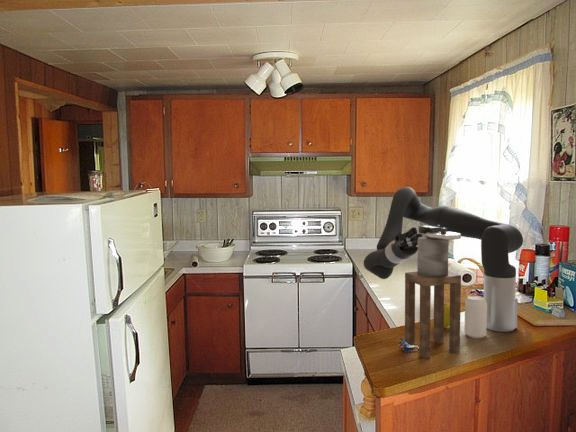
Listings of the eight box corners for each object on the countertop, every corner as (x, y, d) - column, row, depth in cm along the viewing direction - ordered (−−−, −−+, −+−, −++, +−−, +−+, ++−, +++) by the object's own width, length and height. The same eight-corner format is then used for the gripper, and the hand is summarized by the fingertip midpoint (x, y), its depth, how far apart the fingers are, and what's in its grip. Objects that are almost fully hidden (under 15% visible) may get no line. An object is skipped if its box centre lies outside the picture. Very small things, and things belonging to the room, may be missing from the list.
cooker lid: (435, 232, 137) (435, 223, 137) (468, 238, 124) (468, 228, 124) (409, 234, 134) (409, 225, 134) (440, 240, 121) (440, 231, 121)
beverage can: (473, 330, 143) (474, 293, 142) (490, 336, 138) (491, 298, 137) (460, 334, 140) (460, 296, 139) (476, 340, 135) (477, 301, 134)
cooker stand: (439, 341, 135) (440, 235, 132) (459, 352, 127) (461, 239, 124) (404, 346, 131) (405, 238, 128) (423, 358, 123) (424, 242, 120)
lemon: (455, 331, 143) (456, 306, 142) (437, 330, 144) (437, 306, 143) (452, 325, 148) (453, 301, 147) (435, 324, 149) (435, 301, 149)
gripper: (378, 239, 147) (403, 218, 133) (416, 236, 151) (443, 216, 137) (385, 261, 144) (411, 242, 130) (422, 257, 148) (451, 238, 134)
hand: (427, 228), depth 134 cm, fingers open, 8 cm apart
